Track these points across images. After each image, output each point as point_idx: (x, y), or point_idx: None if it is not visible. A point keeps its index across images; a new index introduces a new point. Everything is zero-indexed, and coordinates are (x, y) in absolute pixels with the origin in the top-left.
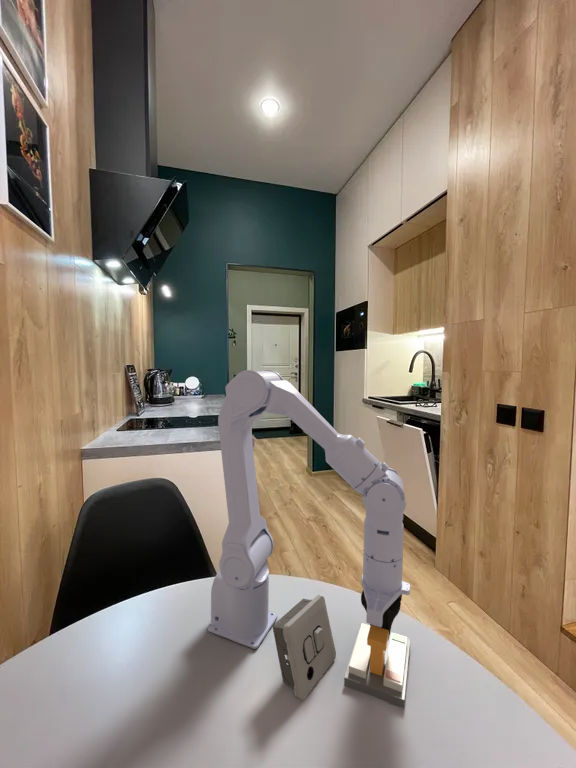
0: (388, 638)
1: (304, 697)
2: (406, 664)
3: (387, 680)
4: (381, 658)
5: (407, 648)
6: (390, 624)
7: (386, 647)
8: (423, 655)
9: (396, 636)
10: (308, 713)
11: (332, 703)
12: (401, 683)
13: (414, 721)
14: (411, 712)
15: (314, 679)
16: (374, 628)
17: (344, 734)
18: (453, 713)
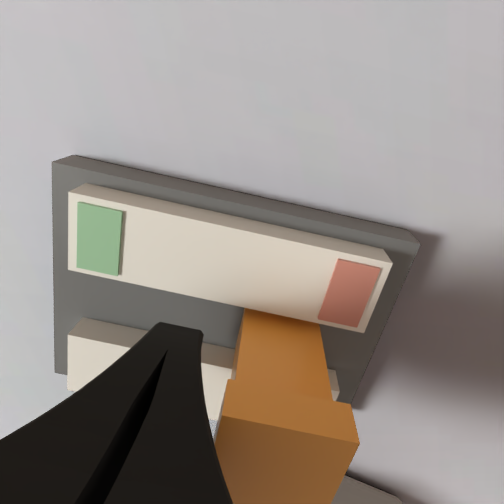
0: (199, 348)
1: (396, 498)
2: (226, 206)
3: (367, 316)
4: (327, 377)
5: (121, 186)
6: (212, 446)
7: (329, 404)
8: (103, 92)
9: (92, 251)
10: (433, 481)
11: (399, 433)
12: (381, 263)
13: (457, 197)
14: (419, 203)
15: (350, 493)
16: (232, 485)
17: (496, 407)
18: (416, 3)
